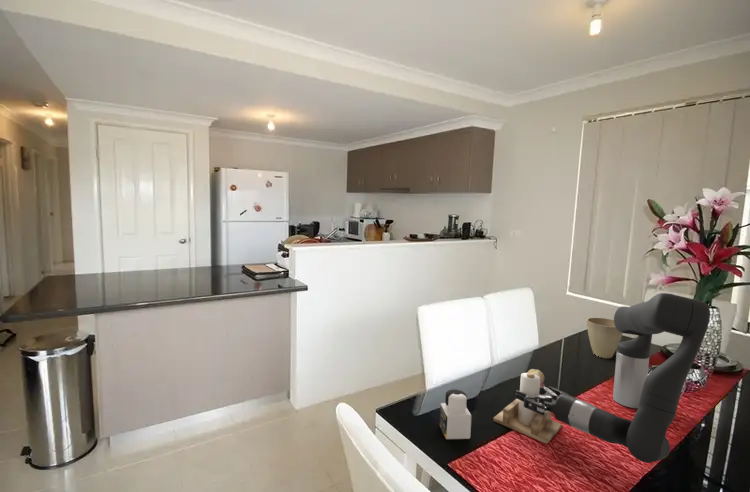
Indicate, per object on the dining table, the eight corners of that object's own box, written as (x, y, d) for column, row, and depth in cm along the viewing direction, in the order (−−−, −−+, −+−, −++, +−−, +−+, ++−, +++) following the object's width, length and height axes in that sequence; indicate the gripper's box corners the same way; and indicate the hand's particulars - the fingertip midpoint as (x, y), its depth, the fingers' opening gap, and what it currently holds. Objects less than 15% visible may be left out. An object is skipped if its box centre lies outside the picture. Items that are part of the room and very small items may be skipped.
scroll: (547, 410, 121) (552, 386, 138) (538, 387, 122) (544, 366, 139) (523, 413, 124) (531, 389, 142) (514, 391, 125) (523, 370, 143)
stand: (510, 407, 125) (511, 392, 124) (561, 427, 114) (562, 411, 113) (493, 420, 116) (494, 405, 116) (546, 443, 105) (548, 426, 104)
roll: (522, 414, 118) (525, 369, 117) (539, 421, 115) (543, 374, 113) (514, 420, 114) (518, 374, 113) (532, 428, 111) (536, 380, 109)
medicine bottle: (439, 425, 113) (441, 386, 112) (462, 425, 113) (464, 386, 112) (445, 439, 106) (447, 398, 104) (470, 439, 106) (472, 398, 105)
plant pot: (577, 349, 181) (579, 317, 179) (605, 349, 183) (608, 317, 181) (598, 362, 166) (601, 326, 165) (629, 361, 168) (632, 326, 166)
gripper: (590, 393, 106) (537, 372, 119) (564, 407, 98) (510, 383, 111) (588, 418, 107) (535, 395, 120) (562, 435, 98) (508, 408, 112)
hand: (523, 389), depth 115 cm, fingers open, 8 cm apart
